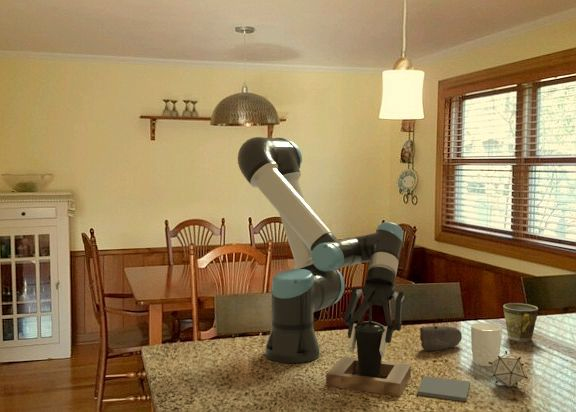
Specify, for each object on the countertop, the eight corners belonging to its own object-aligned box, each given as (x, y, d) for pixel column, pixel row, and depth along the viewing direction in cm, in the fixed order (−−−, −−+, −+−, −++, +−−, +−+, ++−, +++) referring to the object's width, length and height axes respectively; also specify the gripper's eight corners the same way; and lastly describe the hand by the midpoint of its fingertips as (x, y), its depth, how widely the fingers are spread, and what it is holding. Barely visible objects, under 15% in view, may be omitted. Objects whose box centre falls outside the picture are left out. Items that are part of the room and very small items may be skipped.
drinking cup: (360, 388, 145) (361, 306, 143) (349, 377, 152) (350, 298, 150) (390, 385, 147) (391, 304, 145) (377, 374, 154) (378, 297, 152)
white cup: (502, 368, 158) (503, 331, 158) (471, 366, 160) (472, 329, 159) (498, 359, 166) (499, 323, 165) (468, 357, 168) (469, 322, 167)
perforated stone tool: (455, 343, 180) (456, 321, 180) (467, 348, 176) (467, 325, 175) (413, 349, 175) (413, 326, 174) (423, 354, 170) (424, 330, 170)
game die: (502, 398, 148) (498, 358, 154) (535, 393, 143) (530, 353, 148) (484, 387, 143) (480, 347, 149) (518, 383, 138) (513, 341, 143)
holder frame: (326, 385, 146) (326, 373, 146) (342, 367, 159) (342, 356, 159) (400, 396, 140) (400, 383, 139) (410, 376, 153) (410, 364, 152)
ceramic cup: (498, 333, 191) (499, 302, 190) (530, 334, 190) (531, 303, 190) (511, 346, 178) (512, 313, 177) (546, 346, 177) (547, 313, 177)
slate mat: (417, 394, 141) (417, 391, 141) (424, 378, 151) (424, 375, 151) (466, 401, 137) (466, 398, 137) (470, 384, 147) (470, 381, 147)
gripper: (421, 284, 158) (409, 364, 144) (348, 279, 166) (330, 354, 152) (418, 267, 153) (405, 348, 139) (343, 262, 160) (323, 339, 146)
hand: (366, 351), depth 145 cm, fingers closed on drinking cup, 7 cm apart
